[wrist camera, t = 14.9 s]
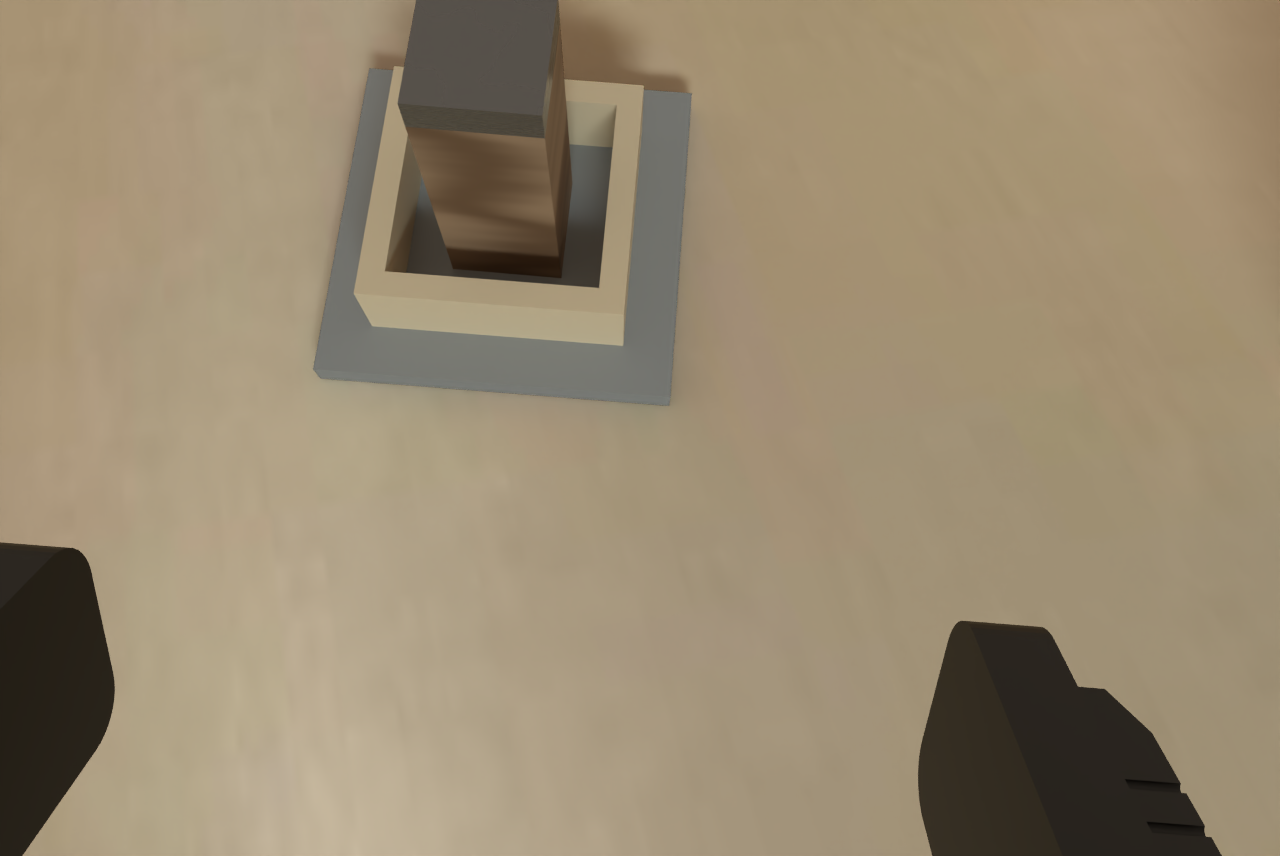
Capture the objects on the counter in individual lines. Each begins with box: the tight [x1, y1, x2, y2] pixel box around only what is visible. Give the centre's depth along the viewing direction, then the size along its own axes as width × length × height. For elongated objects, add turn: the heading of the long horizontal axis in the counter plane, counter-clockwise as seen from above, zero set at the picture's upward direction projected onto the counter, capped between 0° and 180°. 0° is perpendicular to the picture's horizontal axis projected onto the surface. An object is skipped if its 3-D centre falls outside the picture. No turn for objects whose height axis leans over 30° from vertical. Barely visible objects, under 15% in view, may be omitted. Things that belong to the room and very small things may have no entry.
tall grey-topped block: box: [397, 0, 572, 278], centre depth 37 cm, size 4×4×11 cm
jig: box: [313, 66, 692, 406], centre depth 41 cm, size 14×14×4 cm
